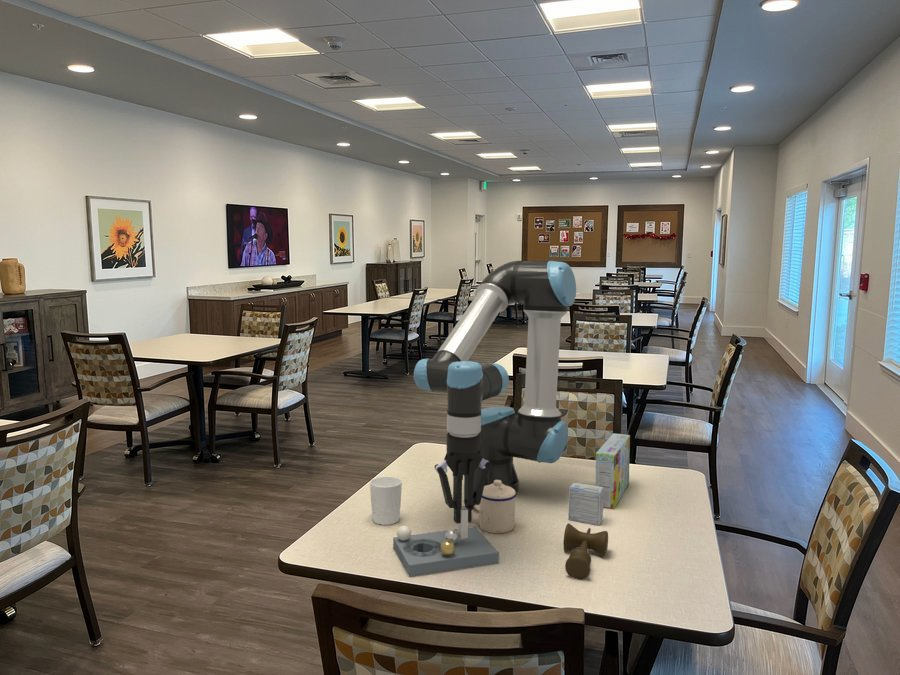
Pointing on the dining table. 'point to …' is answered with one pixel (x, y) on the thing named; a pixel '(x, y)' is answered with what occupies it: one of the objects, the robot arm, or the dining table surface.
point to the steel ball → (452, 536)
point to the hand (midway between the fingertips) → (462, 535)
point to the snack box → (613, 468)
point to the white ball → (404, 533)
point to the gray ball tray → (427, 558)
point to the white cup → (386, 499)
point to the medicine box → (586, 503)
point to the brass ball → (447, 548)
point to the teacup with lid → (497, 508)
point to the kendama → (582, 550)
